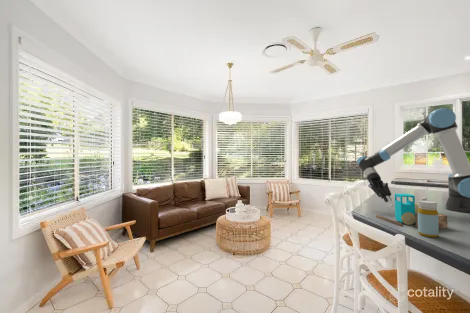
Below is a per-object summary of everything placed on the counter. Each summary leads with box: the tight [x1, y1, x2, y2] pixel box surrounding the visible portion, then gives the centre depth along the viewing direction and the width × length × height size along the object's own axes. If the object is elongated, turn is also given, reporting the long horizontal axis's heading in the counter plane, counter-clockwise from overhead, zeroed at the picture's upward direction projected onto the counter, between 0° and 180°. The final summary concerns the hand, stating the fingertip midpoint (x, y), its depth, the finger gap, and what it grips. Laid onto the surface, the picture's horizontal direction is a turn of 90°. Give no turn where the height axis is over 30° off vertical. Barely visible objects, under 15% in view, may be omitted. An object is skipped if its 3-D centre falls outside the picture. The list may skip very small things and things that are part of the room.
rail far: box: [375, 214, 404, 227], centre depth 125 cm, size 1×18×1 cm, turn 5°
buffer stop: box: [415, 213, 448, 229], centre depth 114 cm, size 14×5×6 cm, turn 96°
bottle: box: [417, 199, 440, 238], centre depth 103 cm, size 7×7×15 cm
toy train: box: [394, 193, 428, 226], centre depth 121 cm, size 8×17×15 cm, turn 80°
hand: (391, 206), depth 138 cm, fingers closed
